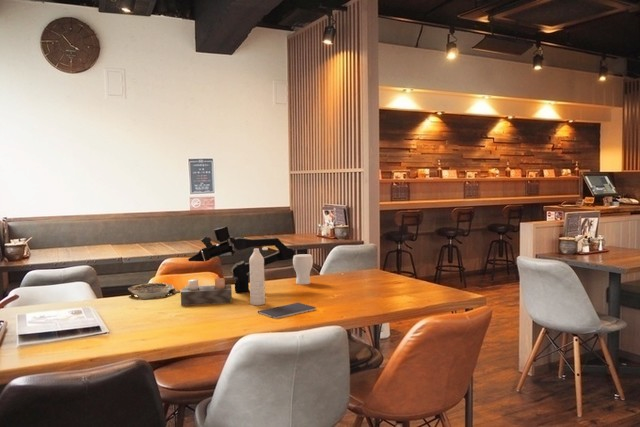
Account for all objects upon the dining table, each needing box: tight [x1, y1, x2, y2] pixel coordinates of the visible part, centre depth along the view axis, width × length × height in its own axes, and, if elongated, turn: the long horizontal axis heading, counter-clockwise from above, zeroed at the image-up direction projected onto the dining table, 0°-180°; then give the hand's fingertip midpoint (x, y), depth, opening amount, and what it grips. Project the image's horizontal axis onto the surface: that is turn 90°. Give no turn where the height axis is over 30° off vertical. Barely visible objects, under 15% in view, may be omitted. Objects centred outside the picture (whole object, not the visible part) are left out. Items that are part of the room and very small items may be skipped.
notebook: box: [257, 302, 316, 320], centre depth 223 cm, size 13×2×21 cm
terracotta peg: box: [214, 277, 226, 289], centre depth 245 cm, size 4×4×6 cm
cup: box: [292, 253, 314, 286], centre depth 283 cm, size 11×11×15 cm
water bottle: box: [248, 246, 269, 306], centre depth 238 cm, size 9×6×25 cm
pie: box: [127, 282, 181, 300], centre depth 264 cm, size 28×27×5 cm
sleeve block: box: [180, 284, 233, 306], centre depth 245 cm, size 22×12×6 cm, turn 98°
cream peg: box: [187, 278, 199, 290], centre depth 244 cm, size 4×4×6 cm
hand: (188, 259), depth 257 cm, fingers open, 9 cm apart
